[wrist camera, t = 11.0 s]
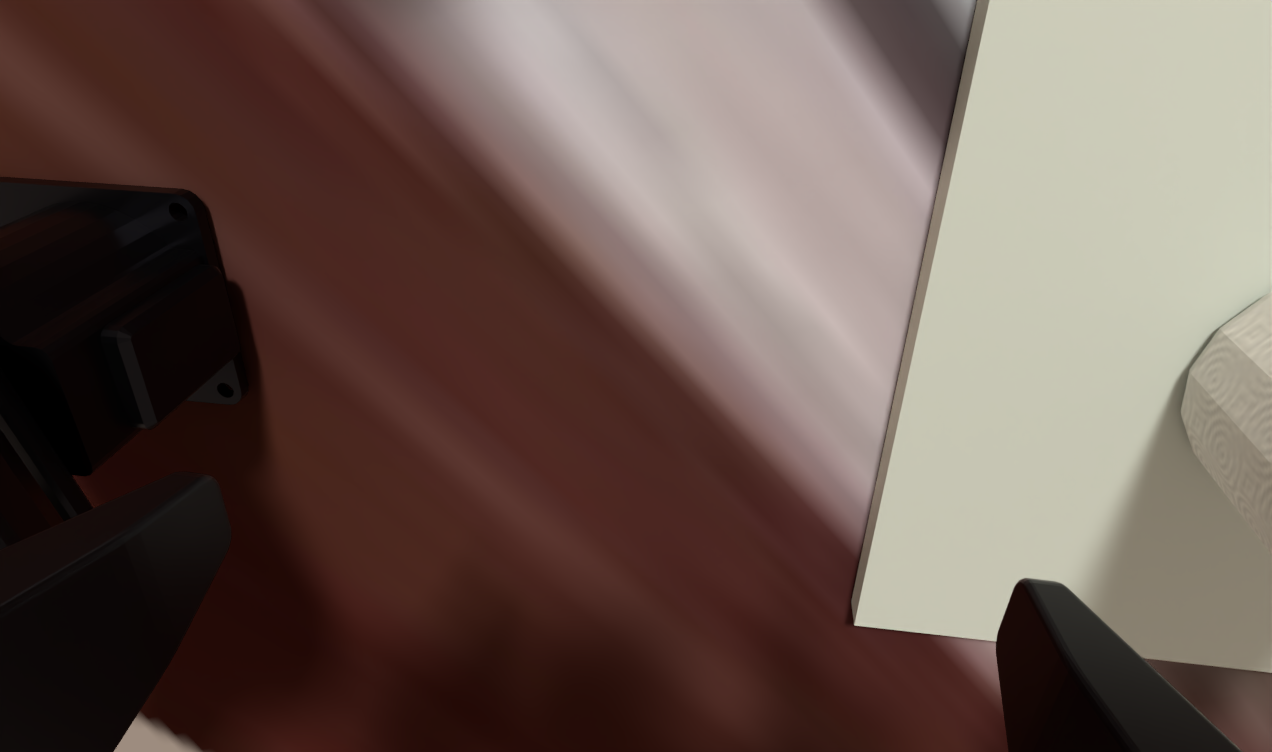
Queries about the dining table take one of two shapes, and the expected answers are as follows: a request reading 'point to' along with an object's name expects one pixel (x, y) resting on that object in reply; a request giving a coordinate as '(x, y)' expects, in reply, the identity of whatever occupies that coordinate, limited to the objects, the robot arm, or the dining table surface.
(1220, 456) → the paper towel roll
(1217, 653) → the sage board
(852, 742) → the dining table surface
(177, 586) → the robot arm
